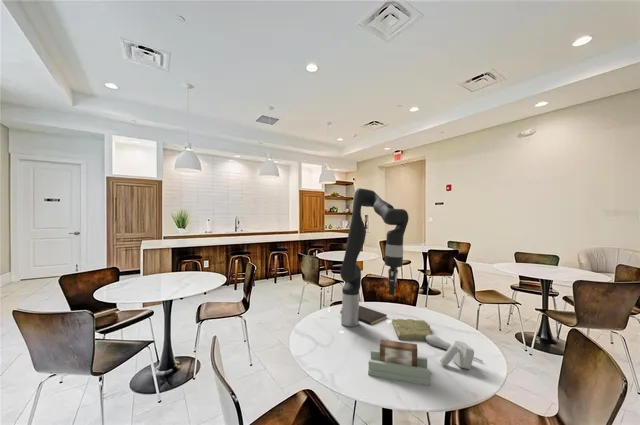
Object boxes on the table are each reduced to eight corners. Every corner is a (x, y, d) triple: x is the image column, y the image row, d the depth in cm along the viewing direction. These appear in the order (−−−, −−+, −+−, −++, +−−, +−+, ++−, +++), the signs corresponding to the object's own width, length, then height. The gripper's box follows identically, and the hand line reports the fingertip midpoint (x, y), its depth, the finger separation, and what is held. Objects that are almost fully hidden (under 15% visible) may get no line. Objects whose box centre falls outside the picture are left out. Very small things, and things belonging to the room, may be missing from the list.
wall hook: (434, 359, 116) (440, 336, 116) (457, 364, 117) (462, 341, 117) (444, 370, 108) (450, 345, 108) (468, 375, 109) (475, 350, 109)
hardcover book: (357, 308, 179) (357, 304, 179) (387, 318, 162) (387, 314, 162) (340, 314, 168) (340, 310, 168) (370, 326, 151) (370, 321, 151)
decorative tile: (398, 340, 135) (398, 333, 135) (391, 323, 155) (391, 317, 155) (437, 343, 133) (437, 335, 133) (426, 325, 153) (426, 319, 153)
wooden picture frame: (379, 367, 108) (379, 344, 108) (380, 361, 112) (380, 339, 112) (417, 373, 104) (417, 349, 104) (416, 366, 108) (416, 344, 108)
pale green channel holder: (368, 374, 106) (368, 363, 106) (371, 358, 117) (371, 348, 117) (429, 385, 99) (429, 373, 99) (426, 367, 111) (426, 356, 111)
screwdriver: (481, 369, 113) (481, 360, 112) (424, 343, 132) (423, 336, 131) (485, 362, 116) (485, 354, 115) (428, 338, 135) (428, 331, 134)
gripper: (402, 258, 111) (400, 298, 112) (403, 253, 125) (401, 288, 125) (383, 256, 114) (381, 295, 114) (386, 251, 127) (385, 286, 128)
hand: (392, 291), depth 120 cm, fingers open, 8 cm apart
